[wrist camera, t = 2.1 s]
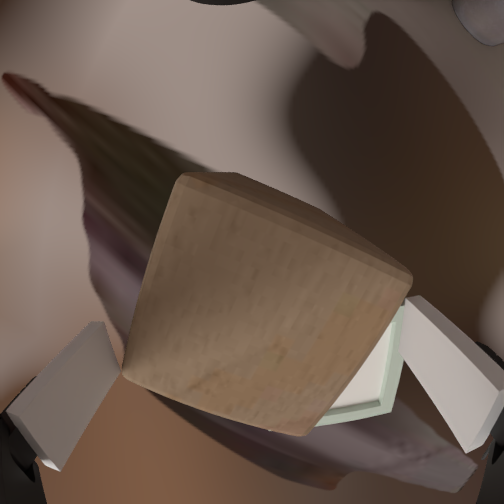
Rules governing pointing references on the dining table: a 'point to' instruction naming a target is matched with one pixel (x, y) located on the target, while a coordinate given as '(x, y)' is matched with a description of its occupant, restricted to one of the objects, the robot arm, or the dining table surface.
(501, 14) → the pillar candle
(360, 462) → the dining table surface
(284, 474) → the dining table surface
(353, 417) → the square tray
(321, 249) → the wooden block
